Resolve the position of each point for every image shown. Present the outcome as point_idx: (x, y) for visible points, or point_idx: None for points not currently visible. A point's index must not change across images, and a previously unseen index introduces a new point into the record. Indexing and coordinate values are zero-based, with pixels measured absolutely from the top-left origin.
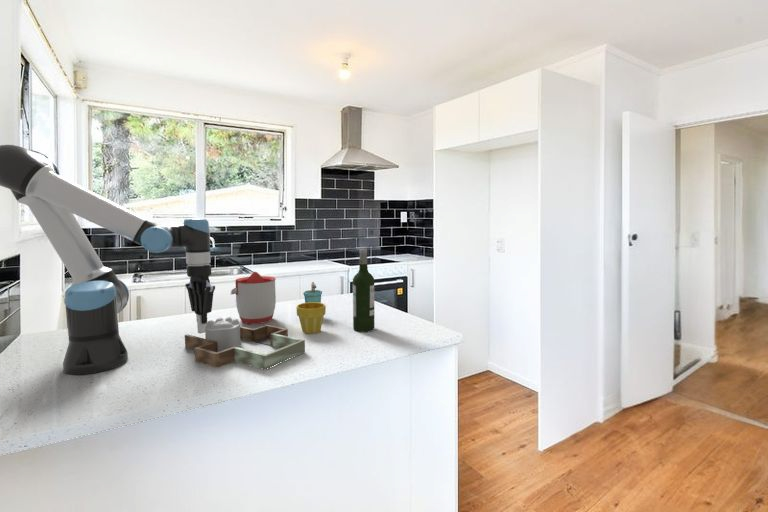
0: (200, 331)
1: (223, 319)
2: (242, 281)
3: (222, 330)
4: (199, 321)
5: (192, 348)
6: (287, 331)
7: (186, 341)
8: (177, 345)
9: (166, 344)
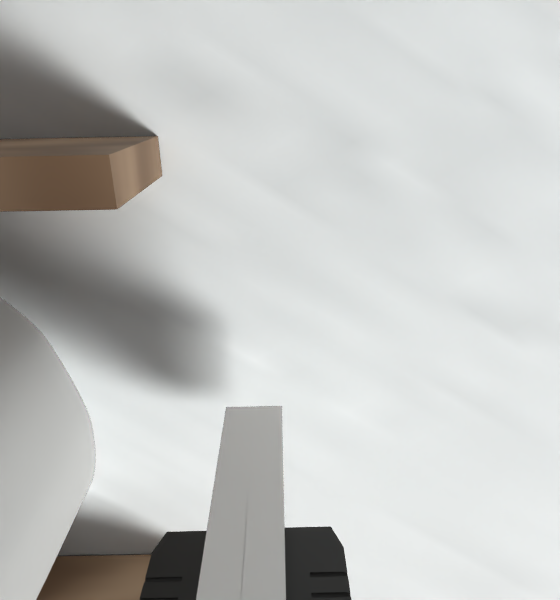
0: (225, 426)
1: None
2: None
3: None
4: (213, 542)
5: (5, 139)
6: None
7: (98, 144)
8: (302, 119)
9: (469, 61)
